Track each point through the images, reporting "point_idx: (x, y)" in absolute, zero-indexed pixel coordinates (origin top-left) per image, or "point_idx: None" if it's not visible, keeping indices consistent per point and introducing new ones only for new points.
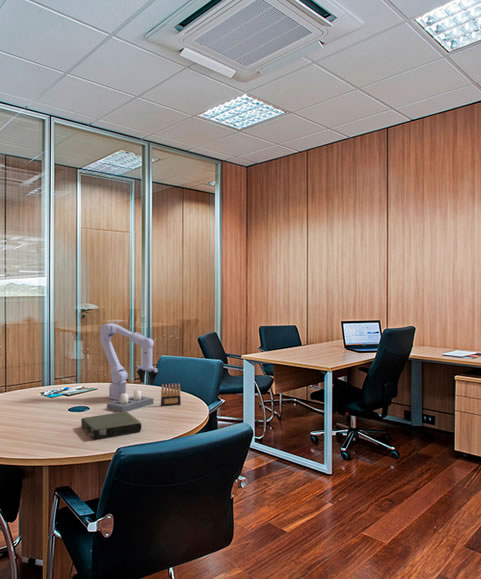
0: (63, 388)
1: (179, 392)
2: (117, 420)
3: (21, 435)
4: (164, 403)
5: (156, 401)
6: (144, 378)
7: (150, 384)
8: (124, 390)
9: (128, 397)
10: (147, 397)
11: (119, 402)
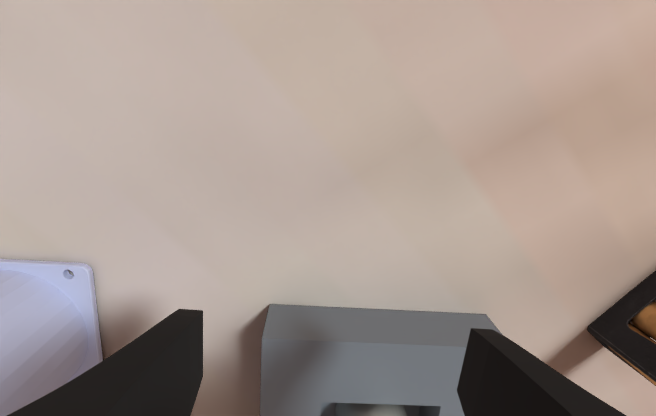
0: None
1: None
2: None
3: None
4: (644, 332)
5: (458, 228)
6: (162, 355)
7: (464, 390)
8: (24, 389)
9: (91, 279)
10: (427, 353)
11: None
